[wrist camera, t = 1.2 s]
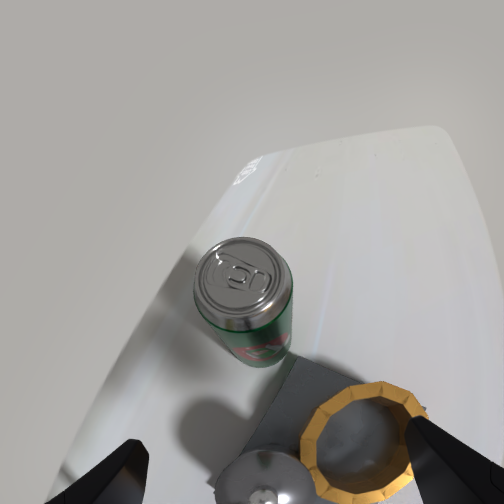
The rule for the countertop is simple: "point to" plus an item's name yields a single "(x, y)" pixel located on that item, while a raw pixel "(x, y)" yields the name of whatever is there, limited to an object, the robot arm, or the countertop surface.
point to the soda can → (247, 299)
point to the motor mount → (325, 443)
